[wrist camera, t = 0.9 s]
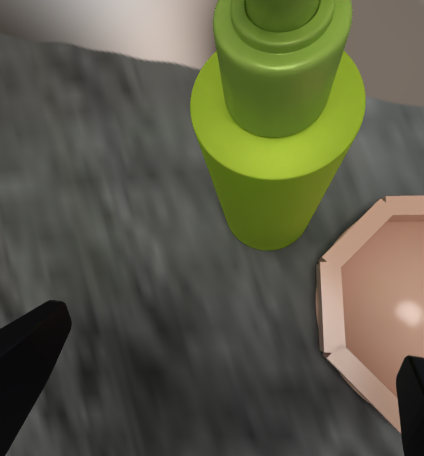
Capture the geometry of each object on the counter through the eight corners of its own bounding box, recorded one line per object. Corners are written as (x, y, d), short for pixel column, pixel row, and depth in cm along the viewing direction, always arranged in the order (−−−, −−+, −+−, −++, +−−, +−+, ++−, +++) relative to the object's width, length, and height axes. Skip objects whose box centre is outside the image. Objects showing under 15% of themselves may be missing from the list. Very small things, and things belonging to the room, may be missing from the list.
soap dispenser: (334, 183, 24) (621, -318, 5) (281, 267, 23) (384, 50, 4) (261, 144, 26) (267, -364, 6) (209, 222, 25) (33, -96, 6)
